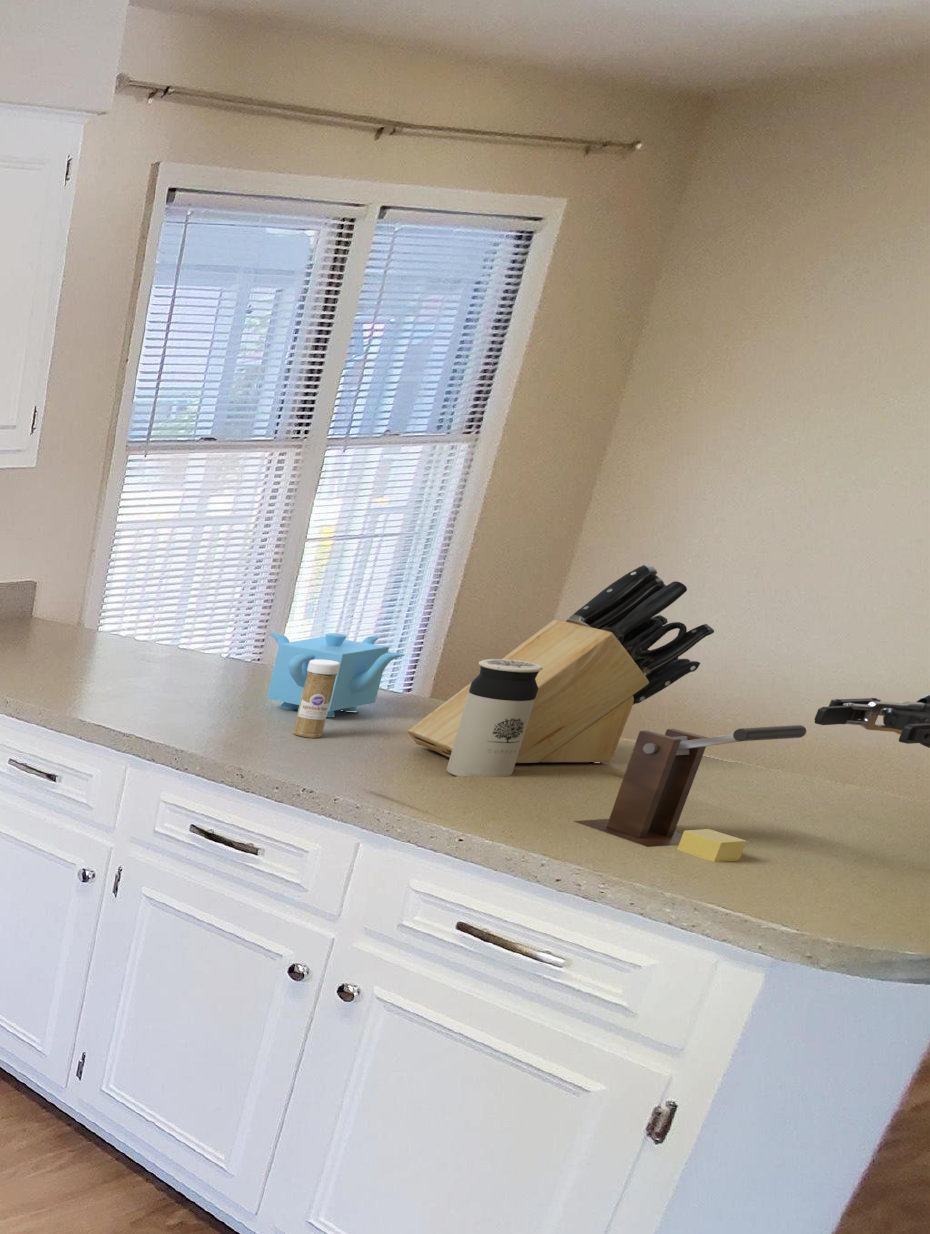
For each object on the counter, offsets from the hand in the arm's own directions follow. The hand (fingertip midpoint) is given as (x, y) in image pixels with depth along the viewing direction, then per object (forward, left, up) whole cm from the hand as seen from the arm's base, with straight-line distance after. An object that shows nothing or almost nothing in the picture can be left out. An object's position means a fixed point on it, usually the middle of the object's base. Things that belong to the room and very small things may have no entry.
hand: (861, 725), depth 135 cm
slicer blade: (+5, +12, -4) cm, 14 cm away
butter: (+1, +12, -18) cm, 22 cm away
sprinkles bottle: (+64, +16, -18) cm, 69 cm away
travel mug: (+38, +8, -18) cm, 43 cm away
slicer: (+10, +12, -18) cm, 24 cm away
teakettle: (+80, 0, -18) cm, 82 cm away
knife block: (+46, -9, -18) cm, 50 cm away
